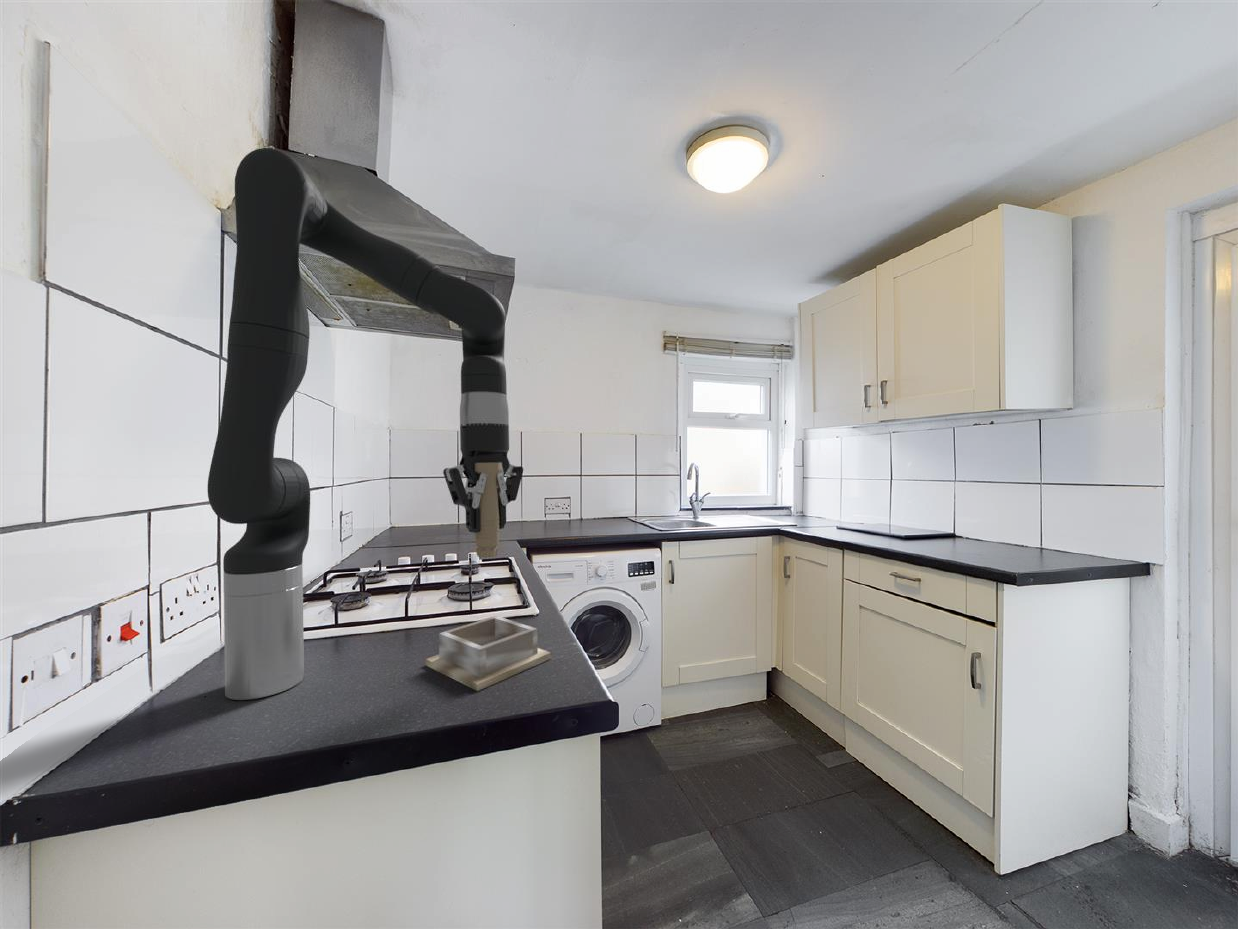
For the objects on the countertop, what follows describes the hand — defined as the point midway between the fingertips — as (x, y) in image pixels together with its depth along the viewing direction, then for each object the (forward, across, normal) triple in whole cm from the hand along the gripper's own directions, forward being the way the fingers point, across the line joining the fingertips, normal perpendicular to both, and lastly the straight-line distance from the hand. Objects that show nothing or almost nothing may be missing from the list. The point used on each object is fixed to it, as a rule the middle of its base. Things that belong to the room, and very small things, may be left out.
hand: (486, 529), depth 76 cm
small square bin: (+21, 0, 0) cm, 21 cm away
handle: (+4, 0, 0) cm, 4 cm away
